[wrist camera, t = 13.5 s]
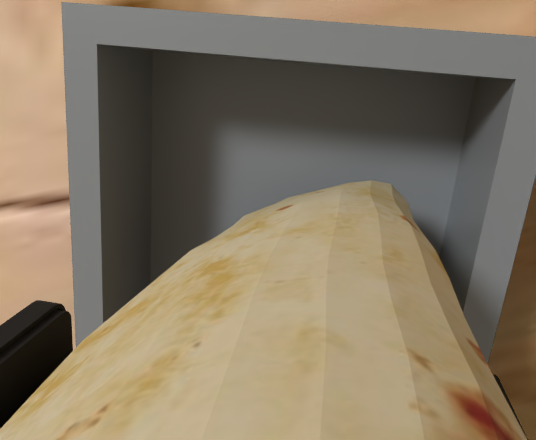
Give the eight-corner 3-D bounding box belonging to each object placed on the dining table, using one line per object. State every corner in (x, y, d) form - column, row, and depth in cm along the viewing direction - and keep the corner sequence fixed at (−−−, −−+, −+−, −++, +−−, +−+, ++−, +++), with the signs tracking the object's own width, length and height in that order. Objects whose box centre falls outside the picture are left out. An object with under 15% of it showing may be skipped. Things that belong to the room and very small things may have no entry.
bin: (506, 49, 16) (569, 39, 12) (421, 438, 21) (441, 544, 16) (137, 21, 18) (61, 1, 13) (137, 387, 23) (80, 470, 18)
